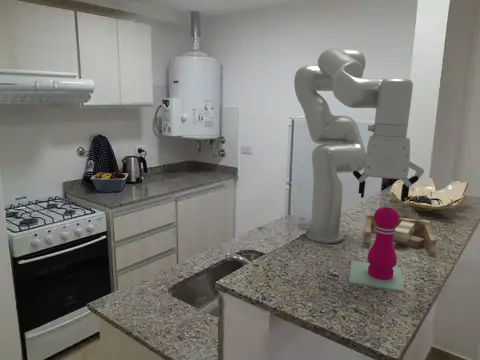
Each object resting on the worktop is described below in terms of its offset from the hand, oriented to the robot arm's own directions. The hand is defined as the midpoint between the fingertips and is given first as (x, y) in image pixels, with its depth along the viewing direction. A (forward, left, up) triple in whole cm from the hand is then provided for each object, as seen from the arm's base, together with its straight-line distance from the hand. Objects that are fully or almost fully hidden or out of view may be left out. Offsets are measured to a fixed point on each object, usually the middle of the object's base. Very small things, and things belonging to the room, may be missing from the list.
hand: (382, 198), depth 94 cm
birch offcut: (+9, +28, -19) cm, 35 cm away
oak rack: (+7, +28, -21) cm, 36 cm away
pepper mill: (+1, 0, -21) cm, 21 cm away
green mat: (0, 0, -21) cm, 21 cm away
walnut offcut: (+9, +28, -22) cm, 37 cm away
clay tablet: (+10, +57, -22) cm, 62 cm away
